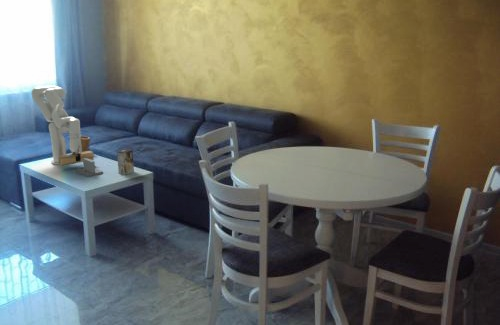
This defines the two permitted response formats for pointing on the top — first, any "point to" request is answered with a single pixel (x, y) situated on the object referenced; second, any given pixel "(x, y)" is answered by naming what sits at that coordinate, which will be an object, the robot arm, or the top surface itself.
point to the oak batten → (74, 158)
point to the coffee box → (125, 161)
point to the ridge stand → (89, 168)
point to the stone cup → (84, 143)
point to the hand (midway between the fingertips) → (76, 159)
